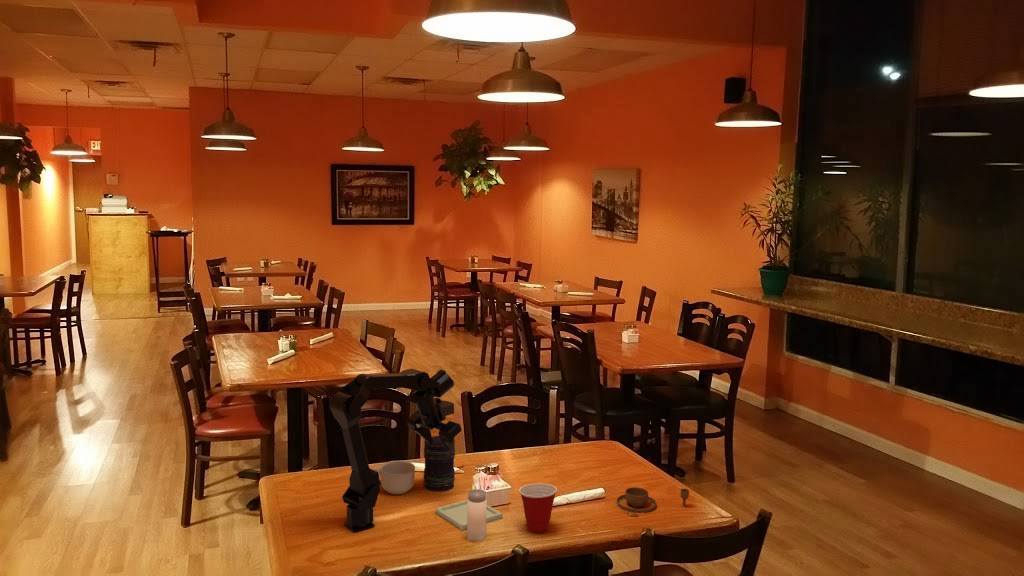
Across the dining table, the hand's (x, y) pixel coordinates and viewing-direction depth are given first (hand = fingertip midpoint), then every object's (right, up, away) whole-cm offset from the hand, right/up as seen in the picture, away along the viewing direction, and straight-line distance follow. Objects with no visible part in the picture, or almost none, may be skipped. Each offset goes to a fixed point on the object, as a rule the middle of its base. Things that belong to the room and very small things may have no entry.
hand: (441, 446), depth 239 cm
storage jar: (-2, -15, +10) cm, 18 cm away
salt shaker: (+12, -20, -26) cm, 35 cm away
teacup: (-16, -15, +5) cm, 22 cm away
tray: (+9, -18, -12) cm, 23 cm away
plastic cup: (+29, -19, -20) cm, 40 cm away
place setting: (+63, -18, -4) cm, 66 cm away
